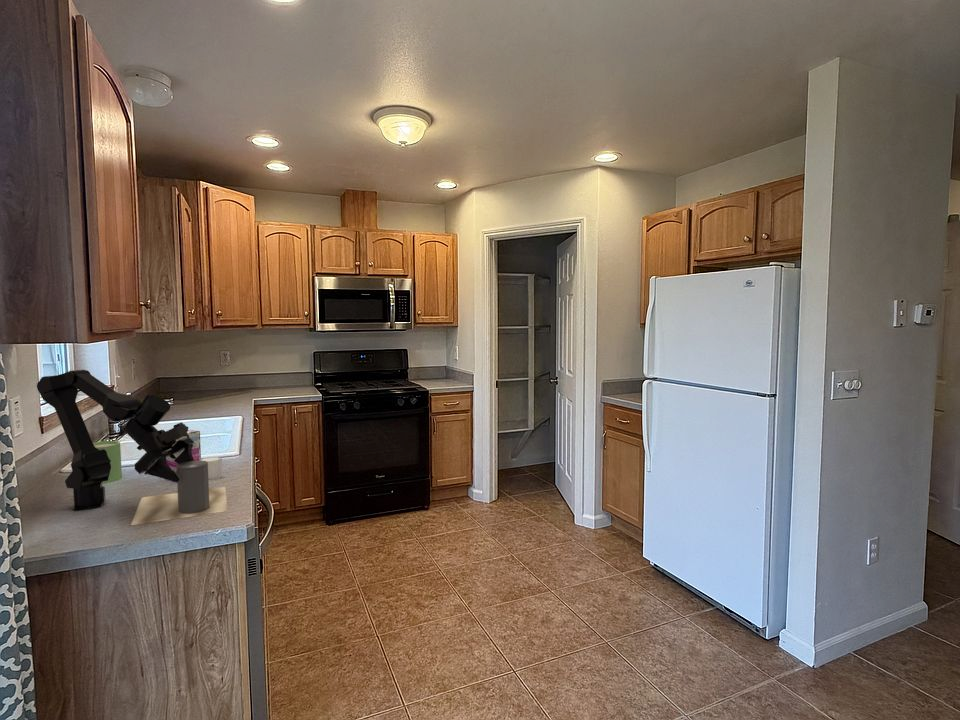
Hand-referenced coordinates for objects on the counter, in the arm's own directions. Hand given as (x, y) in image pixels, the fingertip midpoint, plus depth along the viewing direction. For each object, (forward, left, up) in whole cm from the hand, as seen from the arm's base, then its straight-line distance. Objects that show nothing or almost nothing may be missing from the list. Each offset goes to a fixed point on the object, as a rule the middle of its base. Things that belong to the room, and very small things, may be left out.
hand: (188, 476), depth 144 cm
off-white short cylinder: (+5, +31, -10) cm, 33 cm away
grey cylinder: (+1, -1, -9) cm, 9 cm away
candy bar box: (-3, +36, -10) cm, 38 cm away
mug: (-28, +47, -10) cm, 56 cm away
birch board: (-2, +5, -10) cm, 12 cm away
